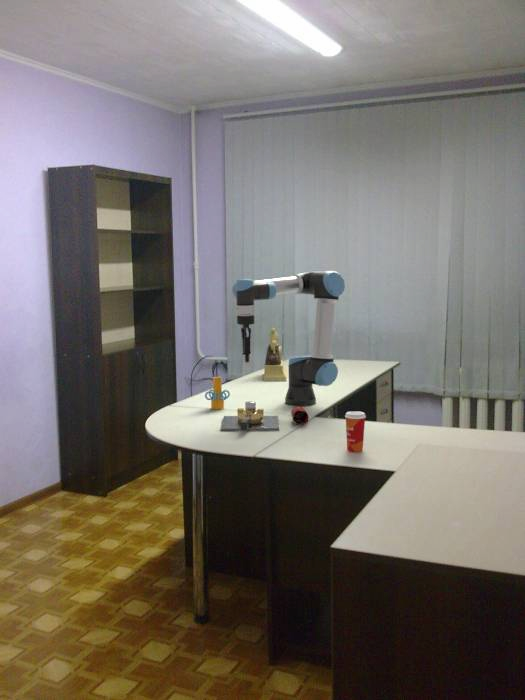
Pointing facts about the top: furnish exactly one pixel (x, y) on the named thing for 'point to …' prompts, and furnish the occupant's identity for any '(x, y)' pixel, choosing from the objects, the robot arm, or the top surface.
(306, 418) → the beverage can
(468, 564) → the top surface
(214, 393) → the cylinder
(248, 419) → the brass knob with lugs
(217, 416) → the top surface
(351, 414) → the paper cup
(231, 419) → the flat plate
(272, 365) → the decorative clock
